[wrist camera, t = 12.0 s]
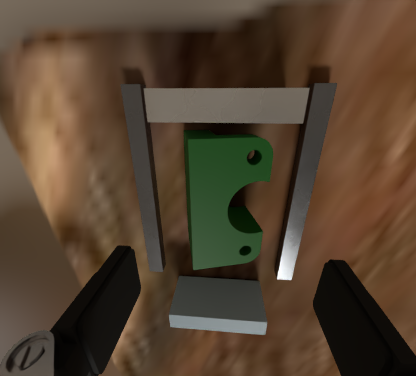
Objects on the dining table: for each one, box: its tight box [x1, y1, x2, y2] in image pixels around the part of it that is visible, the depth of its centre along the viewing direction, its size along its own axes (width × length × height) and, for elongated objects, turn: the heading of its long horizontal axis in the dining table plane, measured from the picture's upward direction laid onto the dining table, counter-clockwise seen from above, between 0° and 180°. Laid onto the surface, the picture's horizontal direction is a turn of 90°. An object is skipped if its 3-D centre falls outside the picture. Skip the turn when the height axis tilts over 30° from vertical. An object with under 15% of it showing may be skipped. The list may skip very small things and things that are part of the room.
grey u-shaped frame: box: [121, 83, 337, 280], centre depth 18 cm, size 17×20×5 cm
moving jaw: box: [169, 276, 267, 335], centre depth 23 cm, size 10×2×5 cm, turn 90°
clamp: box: [184, 130, 273, 270], centre depth 18 cm, size 12×6×9 cm, turn 174°
